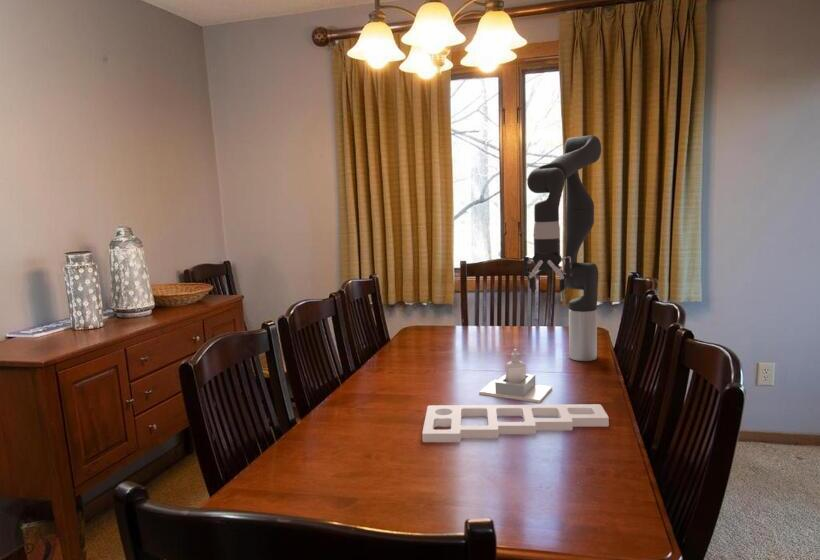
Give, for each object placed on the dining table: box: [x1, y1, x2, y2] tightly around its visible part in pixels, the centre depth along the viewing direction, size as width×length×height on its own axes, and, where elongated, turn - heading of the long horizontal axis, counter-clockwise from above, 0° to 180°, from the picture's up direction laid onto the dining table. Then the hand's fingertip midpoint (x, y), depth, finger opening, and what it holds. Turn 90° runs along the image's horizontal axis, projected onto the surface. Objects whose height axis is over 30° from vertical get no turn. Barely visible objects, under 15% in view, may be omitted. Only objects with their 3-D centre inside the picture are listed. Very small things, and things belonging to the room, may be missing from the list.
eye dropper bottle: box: [505, 348, 527, 384], centre depth 160 cm, size 4×6×12 cm
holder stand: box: [478, 373, 553, 404], centre depth 160 cm, size 12×18×4 cm, turn 60°
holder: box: [421, 403, 610, 443], centre depth 136 cm, size 45×18×3 cm, turn 84°
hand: (547, 290), depth 165 cm, fingers open, 8 cm apart
